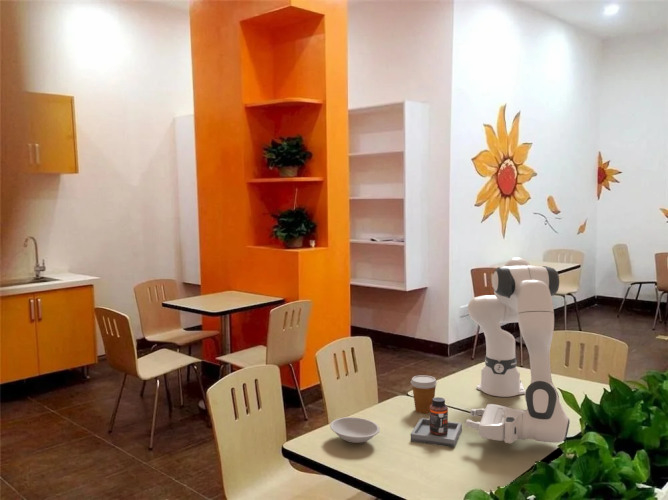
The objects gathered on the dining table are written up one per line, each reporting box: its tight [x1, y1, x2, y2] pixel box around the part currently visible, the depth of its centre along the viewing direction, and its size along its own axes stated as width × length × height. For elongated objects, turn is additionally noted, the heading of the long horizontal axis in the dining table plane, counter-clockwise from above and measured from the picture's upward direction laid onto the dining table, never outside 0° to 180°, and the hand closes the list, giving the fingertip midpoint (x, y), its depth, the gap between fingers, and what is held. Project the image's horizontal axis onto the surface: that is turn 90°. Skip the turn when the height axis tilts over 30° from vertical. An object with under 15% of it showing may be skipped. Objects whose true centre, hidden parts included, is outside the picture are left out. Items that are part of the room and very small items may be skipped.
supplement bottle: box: [429, 396, 449, 435], centre depth 187 cm, size 6×6×11 cm
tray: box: [410, 417, 463, 448], centre depth 187 cm, size 14×14×2 cm
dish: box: [329, 416, 381, 444], centre depth 184 cm, size 18×14×5 cm
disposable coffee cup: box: [410, 374, 438, 415], centre depth 209 cm, size 10×10×12 cm
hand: (468, 417), depth 183 cm, fingers open, 8 cm apart
